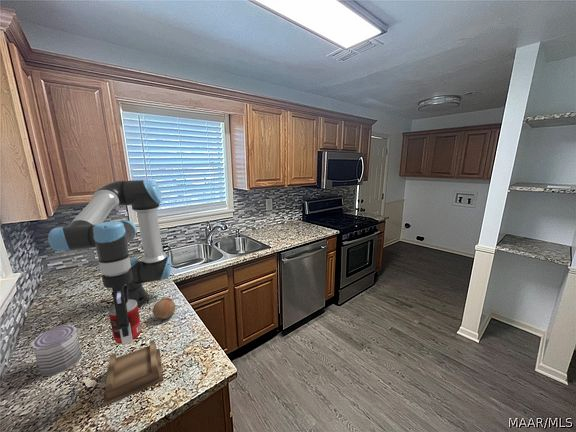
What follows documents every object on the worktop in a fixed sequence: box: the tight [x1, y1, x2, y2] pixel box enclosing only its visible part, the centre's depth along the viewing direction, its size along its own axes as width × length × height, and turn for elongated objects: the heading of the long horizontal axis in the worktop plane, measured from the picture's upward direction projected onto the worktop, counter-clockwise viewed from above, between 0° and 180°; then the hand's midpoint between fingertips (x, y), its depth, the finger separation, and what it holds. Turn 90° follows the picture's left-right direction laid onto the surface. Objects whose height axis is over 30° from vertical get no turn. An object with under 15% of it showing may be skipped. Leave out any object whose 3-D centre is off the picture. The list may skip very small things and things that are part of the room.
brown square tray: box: [102, 339, 164, 408], centre depth 79 cm, size 16×16×6 cm
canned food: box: [108, 300, 142, 345], centre depth 76 cm, size 8×8×11 cm
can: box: [29, 323, 83, 377], centre depth 84 cm, size 11×11×12 cm
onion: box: [152, 296, 176, 321], centre depth 110 cm, size 10×9×10 cm
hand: (128, 335), depth 77 cm, fingers closed on canned food, 8 cm apart
